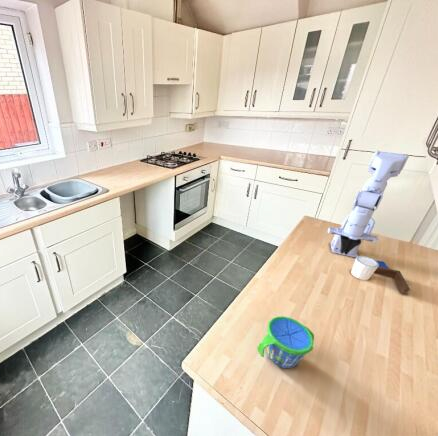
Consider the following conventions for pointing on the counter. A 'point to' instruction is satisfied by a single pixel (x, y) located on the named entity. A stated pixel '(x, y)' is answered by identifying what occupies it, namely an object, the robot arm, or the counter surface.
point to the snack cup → (286, 341)
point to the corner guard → (397, 277)
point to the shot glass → (364, 267)
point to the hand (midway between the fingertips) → (343, 252)
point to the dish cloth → (382, 264)
